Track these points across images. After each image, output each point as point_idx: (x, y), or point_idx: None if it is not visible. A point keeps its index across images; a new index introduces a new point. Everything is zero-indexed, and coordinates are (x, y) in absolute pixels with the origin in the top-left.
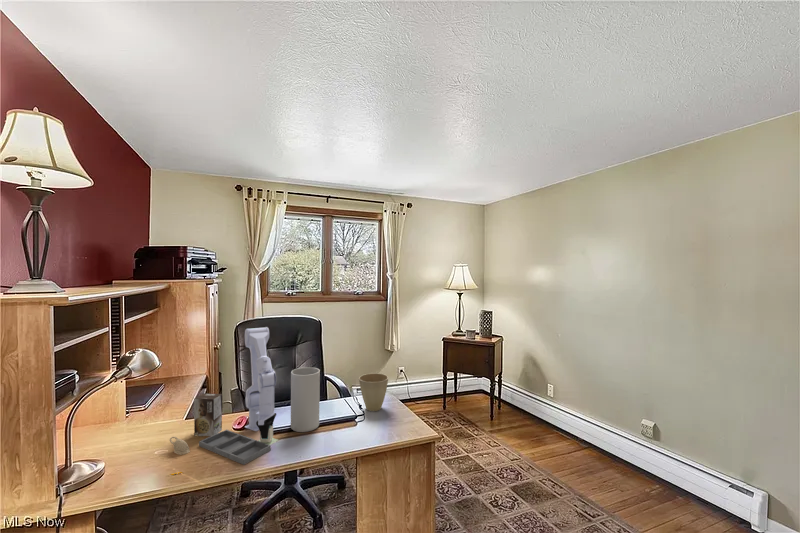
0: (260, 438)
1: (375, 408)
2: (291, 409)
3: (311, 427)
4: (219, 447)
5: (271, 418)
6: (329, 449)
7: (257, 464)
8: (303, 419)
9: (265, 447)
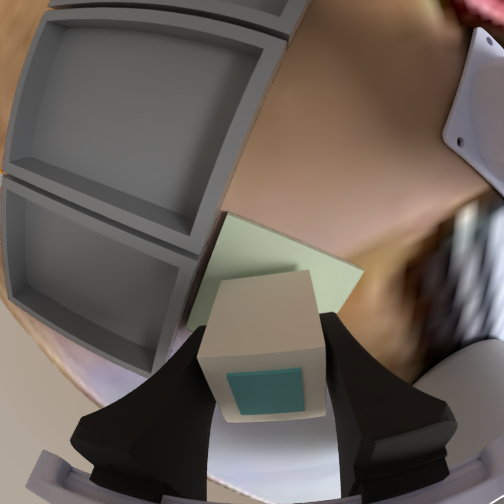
0: (215, 303)
1: None
2: None
3: None
4: (78, 23)
5: (344, 468)
6: (246, 479)
7: (58, 334)
8: None
9: (127, 364)
